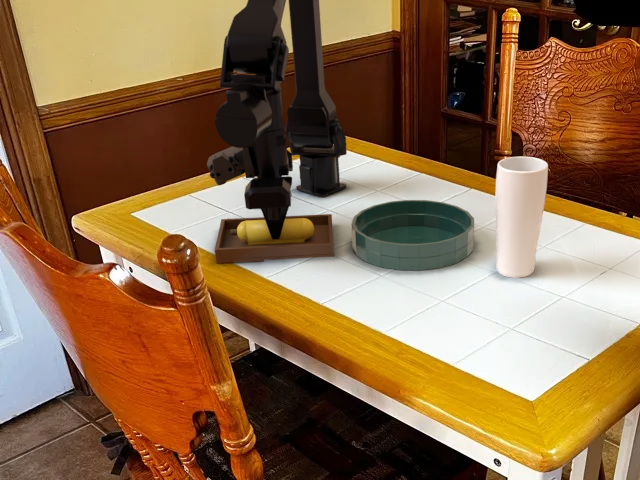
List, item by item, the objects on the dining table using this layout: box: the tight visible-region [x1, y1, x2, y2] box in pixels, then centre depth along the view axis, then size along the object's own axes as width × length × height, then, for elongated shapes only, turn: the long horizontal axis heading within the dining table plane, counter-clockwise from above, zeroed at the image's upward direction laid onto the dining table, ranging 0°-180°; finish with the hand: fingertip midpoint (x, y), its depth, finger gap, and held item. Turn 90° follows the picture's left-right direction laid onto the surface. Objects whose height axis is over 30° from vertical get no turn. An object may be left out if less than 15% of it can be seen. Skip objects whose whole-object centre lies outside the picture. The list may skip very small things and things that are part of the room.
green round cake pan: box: [350, 199, 475, 271], centre depth 125 cm, size 18×18×4 cm
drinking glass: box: [494, 155, 549, 279], centre depth 115 cm, size 7×7×15 cm
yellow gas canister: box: [231, 218, 314, 245], centre depth 127 cm, size 12×3×3 cm, turn 95°
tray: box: [214, 213, 335, 264], centre depth 127 cm, size 17×12×2 cm
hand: (276, 234), depth 127 cm, fingers closed on yellow gas canister, 3 cm apart
